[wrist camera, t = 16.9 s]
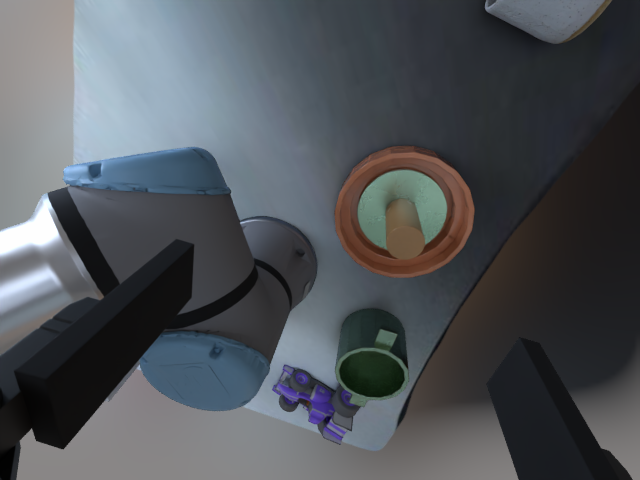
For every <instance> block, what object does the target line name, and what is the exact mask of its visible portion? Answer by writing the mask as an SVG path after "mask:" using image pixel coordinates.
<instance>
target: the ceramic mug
mask: <svg viewBox="0 0 640 480" xmlns="http://www.w3.org/2000/svg"><path fill="white" fill-rule="evenodd" d="M611 1H612V0H486V3H485V9H486V11H487V12H488V13H490V14H492V15H494V16H496V17H498V18H500V19H502V20H504V21H506V22H508V23H510V24H511V25H513V26H515V27H517V28H519V29H522V30H524V31H525V32H527V33H529V34H531V35H533V36H534V37H536V38H538V39H540V40H543V41H546V42H549V43H553V44H560V43H564V42H567V41H569V40H571V39H573V38H574V37H576V36H577V35H579V34H580V33H582V32H583V31H584V30H585V29H586V28H587V27H589V26H590V25H591V24H592V23H593V22H594V21H595V20H596V19H597V18H598V17H599V16H600V15H601V13H602V12H603V11H604V10H605V9H606V7H607V6H608V5H609V4H610V2H611Z"/></svg>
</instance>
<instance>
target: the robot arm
mask: <svg viewBox="0 0 640 480" xmlns="http://www.w3.org/2000/svg"><path fill="white" fill-rule="evenodd" d="M63 172H64V178H63V180H64V182H65V183H66V184H70V186H68V187H65V188H62V189H59V190H55V191H52V192H49V193H46V194H43V195H42V197H41V199H40V201H39V203H38V205H37V207H36V209H35V211H34V213H33V215H32V217H31V218H30V219H29V220H28V221H27V222H24V223H21V224H18V225H15V226H12V227H9V228H6V229H3V230H0V480H16V477H17V470H18V463H19V456H20V449H21V447H20V440H21V439H22V438H23V437H24V435H26V433H28V432H29V431H30V429H31V428H32V430H33V432H34V436H35V439H36V441H38V442H41V443H44V444H48V445H51V446H54V447H57V448H60V449H64V448H65V447H66V446H67V445H68V443H69V442H70V441H71V440H72V439H73V438H74V436H75V435H76V434H77V433H78V432H79V430H80V429H81V428H82V427H83V426H84V425H85V423H86V422H87V421H88V420H89V419H90V417H91V416H92V415H93V414H94V413H95V411H96V410H97V409H98V408H99V406H100V405H101V404H102V403H103V402H104V401H105V400H106V398H107V397H108V396H109V395H110V394H111V393H112V391H113V390H114V389H115V388H116V387H117V385H118V384H119V383H120V382H121V381H122V380H123V378H124V377H125V376H126V375H127V374H128V372H129V371H130V370H131V369H132V368H133V366H134V365H135V364H136V363H137V362H138V361H139V359H140V368H141V370H142V372H143V375H144V376H145V377H146V379H147V380H148V382H149V383H150V384H151V385H152V386H153V387H154V388H156V389H157V390H158V391H159V392H161V393H162V394H164V395H166V396H167V397H168V398H170V399H172V400H174V401H176V402H179V403H182V404H184V405H187V406H190V407H193V408H197V409H202V410H208V411H226V410H232V409H236V408H238V407H241V406H243V405H245V404H247V403H248V402H250V401H251V399H252V398H254V396H255V395H256V394H257V393H258V391H259V389H260V387H261V385H262V383H263V381H264V379H265V377H266V376H267V375H268V373H269V370H270V363H271V361H272V358H273V355H274V353H275V350H276V347H277V345H278V342H279V339H280V337H281V334H282V331H283V329H284V326H285V323H286V321H287V318H288V315H289V313H290V311H291V310H292V309H293V308H294V307H295V306H297V305H298V304H299V303H300V302H301V301H302V300H303V299H304V298H305V297H306V296H307V294H308V293H309V292H310V290H311V288H312V286H313V284H314V281H315V278H316V274H317V259H316V255H315V252H314V250H313V248H312V246H311V244H310V242H309V241H308V240H307V238H306V237H305V236H304V235H303V234H302V233H301V232H300V231H299V230H298V229H296V228H295V227H294V226H292V225H290V224H289V223H287V222H285V221H282V220H279V219H276V218H272V217H264V216H258V217H251V218H247V219H244V220H242V221H239V218H238V215H237V212H236V210H235V207H234V204H233V201H232V198H231V195H230V193H231V190H230V188H228V187H227V185H226V183H225V181H224V178H223V176H222V174H221V172H220V169H219V167H218V165H217V162H216V160H215V158H214V157H213V156H212V155H211V154H210V153H209V152H208V151H206V150H204V149H202V148H198V147H187V148H179V149H171V150H164V151H157V152H151V153H144V154H137V155H131V156H124V157H118V158H112V159H105V160H100V161H94V162H89V163H82V164H76V165H71V166H68V167H66V168H65V169H64V171H63ZM487 387H488V390H489V393H490V396H491V399H492V402H493V405H494V408H495V411H496V414H497V417H498V419H499V423H500V426H501V428H502V431H503V434H504V437H505V440H506V443H507V446H508V449H509V452H510V455H511V458H512V461H513V464H514V467H515V470H516V472H517V476H518V479H519V480H632V478H631V477H630V475H629V473H628V472H627V470H626V469H625V468H624V467H623V466H622V465H621V464H620V462H619V461H618V460H617V459H616V458H615V457H614V456H613V455H612V454H611V452H610V451H607V450H605V449H601V448H600V446H599V444H598V442H597V441H596V439H595V437H594V436H593V434H592V432H591V430H590V429H589V427H588V425H587V424H586V422H585V420H584V419H583V417H582V415H581V413H580V411H579V410H578V408H577V406H576V405H575V403H574V401H573V400H572V398H571V396H570V395H569V393H568V391H567V390H566V388H565V386H564V384H563V383H562V381H561V379H560V377H559V376H558V374H557V372H556V371H555V369H554V367H553V366H552V364H551V362H550V360H549V359H548V357H547V355H546V354H545V352H544V350H543V349H542V347H541V345H540V343H538V342H534V341H531V340H527V339H524V338H520V337H519V339H518V340H517V341H516V343H515V344H514V346H513V347H512V349H511V350H510V351H509V353H508V354H507V356H506V357H505V359H504V360H503V362H502V363H501V364H500V366H499V367H498V368H497V370H496V371H495V373H494V374H493V376H492V377H491V378H490V380H489V381H488V383H487Z"/></svg>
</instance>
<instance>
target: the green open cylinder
mask: <svg viewBox="0 0 640 480" xmlns="http://www.w3.org/2000/svg"><path fill="white" fill-rule="evenodd" d="M335 373H336V378H337V381H338V382H339V383H340V384H341V386H342V387H343V388H344V389H345V390H346V391H348V392H349V393H351V396H350V400H349V403H351V404H355V405H358V406H361V407H364V406H365V404H366V402H367V400H385V399H389V398H393V397H395V396H397V395H398V394H400V393H401V392H402V391H404V389H405V388H406V386H407V384H408V382H409V373H408V361H407V350H406V340H405V330H404V328H403V326H402V324H401V322H400V321H399V320H398V319H397V318H396V317H395V316H394V315H392V314H390V313H388V312H386V311H383V310H379V309H363V310H359V311H356V312H354V313H352V314H351V315H350V316H348V317H347V318H346V320H345V321H344V323H343V325H342V329H341V334H340V340H339V346H338V353H337V359H336V366H335Z"/></svg>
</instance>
